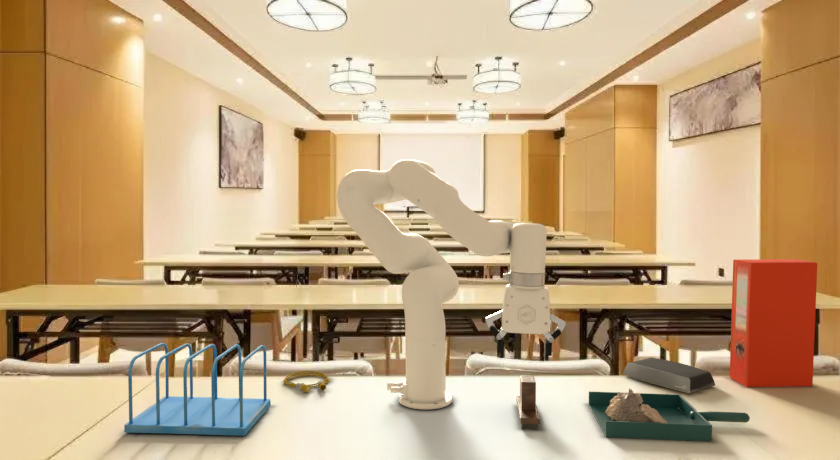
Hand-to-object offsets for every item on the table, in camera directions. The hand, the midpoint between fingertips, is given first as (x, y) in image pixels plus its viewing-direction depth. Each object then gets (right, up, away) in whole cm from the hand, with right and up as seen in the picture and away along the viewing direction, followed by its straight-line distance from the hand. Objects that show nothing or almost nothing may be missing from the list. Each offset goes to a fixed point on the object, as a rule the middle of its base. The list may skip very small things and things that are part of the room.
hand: (523, 357), depth 128 cm
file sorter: (-70, -13, -1) cm, 71 cm away
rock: (+23, -13, -5) cm, 27 cm away
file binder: (+69, -12, +25) cm, 75 cm away
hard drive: (+43, -12, +26) cm, 51 cm away
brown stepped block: (+1, -13, 0) cm, 13 cm away
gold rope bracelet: (-52, -12, +24) cm, 59 cm away
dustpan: (+31, -13, -3) cm, 34 cm away
